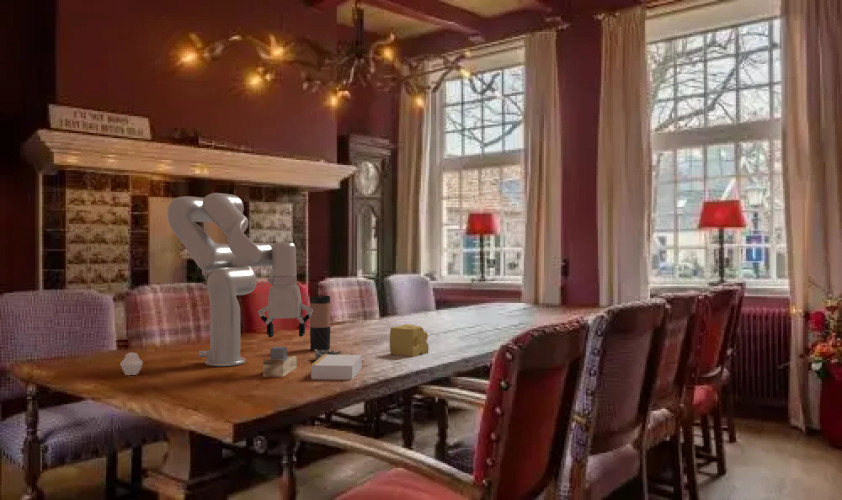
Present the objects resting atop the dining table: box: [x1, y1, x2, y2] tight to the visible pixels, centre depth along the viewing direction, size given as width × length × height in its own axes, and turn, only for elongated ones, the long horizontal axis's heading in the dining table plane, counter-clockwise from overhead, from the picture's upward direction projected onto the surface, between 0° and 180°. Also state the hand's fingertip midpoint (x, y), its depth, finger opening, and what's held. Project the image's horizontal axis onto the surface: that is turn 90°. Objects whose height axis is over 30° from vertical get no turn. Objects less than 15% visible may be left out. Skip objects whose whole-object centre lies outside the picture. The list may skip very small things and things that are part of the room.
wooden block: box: [262, 355, 298, 378], centre depth 199 cm, size 6×15×6 cm, turn 176°
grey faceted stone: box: [120, 351, 144, 376], centre depth 193 cm, size 6×6×7 cm
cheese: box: [389, 323, 430, 358], centre depth 233 cm, size 10×11×10 cm
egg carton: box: [314, 349, 341, 361], centre depth 219 cm, size 11×8×4 cm
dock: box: [310, 354, 363, 381], centre depth 197 cm, size 12×19×4 cm, turn 177°
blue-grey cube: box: [269, 346, 288, 361], centre depth 198 cm, size 4×4×4 cm
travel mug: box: [309, 295, 331, 352], centre depth 243 cm, size 8×8×20 cm
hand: (286, 336), depth 203 cm, fingers open, 9 cm apart
